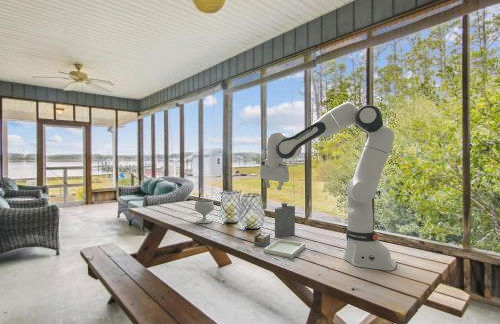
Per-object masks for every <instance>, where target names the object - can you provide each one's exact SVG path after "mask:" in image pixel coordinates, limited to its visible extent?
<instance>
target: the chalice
mask: <svg viewBox="0 0 500 324" xmlns="http://www.w3.org/2000/svg"><path fill="white" fill-rule="evenodd" d="M214 205H215V204H214V201H213V200H209V199H201V200H196V202H195V204H194V210H195V211H196V212H197V213H199V214H200V215H201V216H202V218H200V219H197V220H195V223H198V224H210V223H212V222H213V220H212V219H209V218H207V217H206V216H207V215H208V214H210V213H211V212H213V211H214V210H215V206H214Z"/></svg>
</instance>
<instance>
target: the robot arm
mask: <svg viewBox="0 0 500 324" xmlns="http://www.w3.org/2000/svg"><path fill="white" fill-rule="evenodd" d="M382 116H383V115H382V112H381V110H380V109H379V108H378V107H377V106H375V105H372V104H366V105H362V106H361V107H360V108H358V107H357V106H356V105H355V104H354V103H353V102H349V101H347V102H343V103H342V104H340V105H338V106H336V107H334V108H332V109H331V110H329V111H327V112H326V113H324V114H323V115H322V116H320V118H319V119H316V121H315V122H313V123H312V124H311V125H310V126H308V127H306V128H304V129H303V130H301V131H299V132H297V133H296V134H294V135H291V136H290V137H289V136H286V135H285V134H284V133H283V132H274V133H271V134H269V136H268V139H267V145H266V151H267V154H266V159H264V160H262V161H260V169H259V175H260V179H263V180H264V183H265V188H269V189H270V188H271V184H270V181H275V182H278V185H277V187H276V190H277V191H282V187H283V185H284V183H288V182H289V180H290V172H289V171H290V170H289V166H288V165H287V164H286V163H284V159H285V160H287V159H291V158H297V157H298V156H300V154H302V147H303V146H304V145H306V144H307V143H309V142H311V141H313V140H315V139H319V138H322V137H323V138H324V137H329V136H332V135H335V134H337V133H339V132H341V131H342V130H344V129H345V128H347V127H349V126H352V125H353V126H355V128H358V129H359V131H361V132H363V133H366V134H367V139H366V142H365V144H364V147H363V149H362V152H361V153H360V157H359V159H358V161H357V163H356V164H357V165H356V167H355V171H354V173H353V177H352V178H351V179H349V181H348V182H347V189H346V190H347V195H346V196H347V227H346V231H345V234H346V235H345V238H346V245H345V246H346V247H345V252H344V255H343V259H344V261H346V262H347V263H350V264H351V265H353V266H354V267H358V268H366V269H372V270H373V269H374V270H380V271H381V270H382V271H387V272H388V271H389V272H390V271H395V269H396V268H397V261H396V260H395V259H393V258H392V257H391V251H390V249H389V248H388V247H387V246H385V245H384V244H383V243H381V242H380V240H379V239H378V238H379V237H378V232H377V231H376V232H375V231H374V212H373V199H374V197H375V196H376V193H377V189H378V187H379V183H380V180H381V178H382V177H381V176H382V173H383V170H384V168H385V165H386V163H387V161H388V158H389V156H390V153H391V151H392V147H393V143H394V140H395V133H394V131H393V130H392V129H391V128H389V127H387V126H384V121H383V117H382Z"/></svg>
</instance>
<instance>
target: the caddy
mask: <svg viewBox="0 0 500 324" xmlns="http://www.w3.org/2000/svg"><path fill="white" fill-rule="evenodd" d="M259 236H262V232H258V233H256V234H254V235H253V239H254V240H253V244H254V245H253V246H257V247H262V248H265V247H267V246H269V245H270V244H271V233H269V234H266V235H264V236H265V237H264V243H262V242H257V237H259Z"/></svg>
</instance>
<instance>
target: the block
mask: <svg viewBox="0 0 500 324" xmlns="http://www.w3.org/2000/svg"><path fill="white" fill-rule="evenodd" d="M265 236H266V235H261V236H259V237H257V242H262V243H264V237H265Z"/></svg>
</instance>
